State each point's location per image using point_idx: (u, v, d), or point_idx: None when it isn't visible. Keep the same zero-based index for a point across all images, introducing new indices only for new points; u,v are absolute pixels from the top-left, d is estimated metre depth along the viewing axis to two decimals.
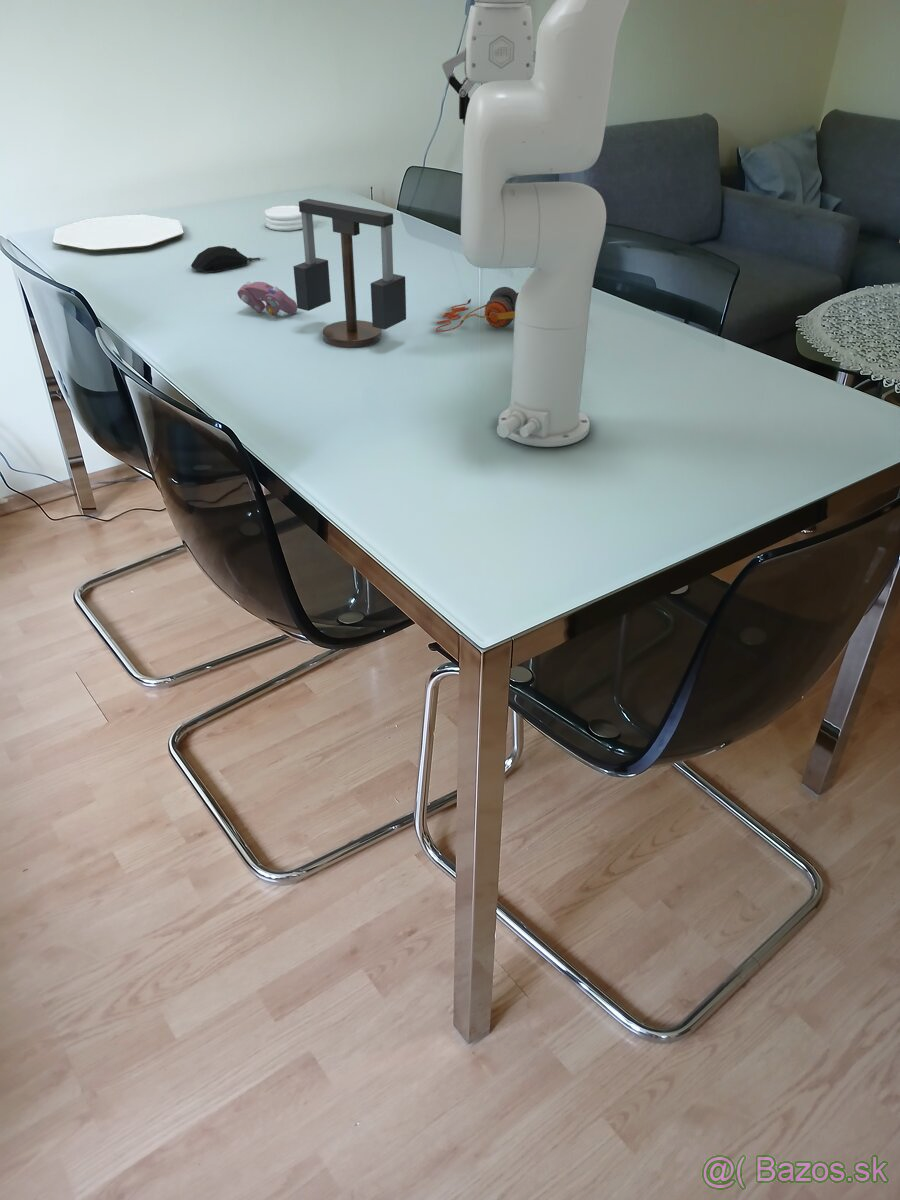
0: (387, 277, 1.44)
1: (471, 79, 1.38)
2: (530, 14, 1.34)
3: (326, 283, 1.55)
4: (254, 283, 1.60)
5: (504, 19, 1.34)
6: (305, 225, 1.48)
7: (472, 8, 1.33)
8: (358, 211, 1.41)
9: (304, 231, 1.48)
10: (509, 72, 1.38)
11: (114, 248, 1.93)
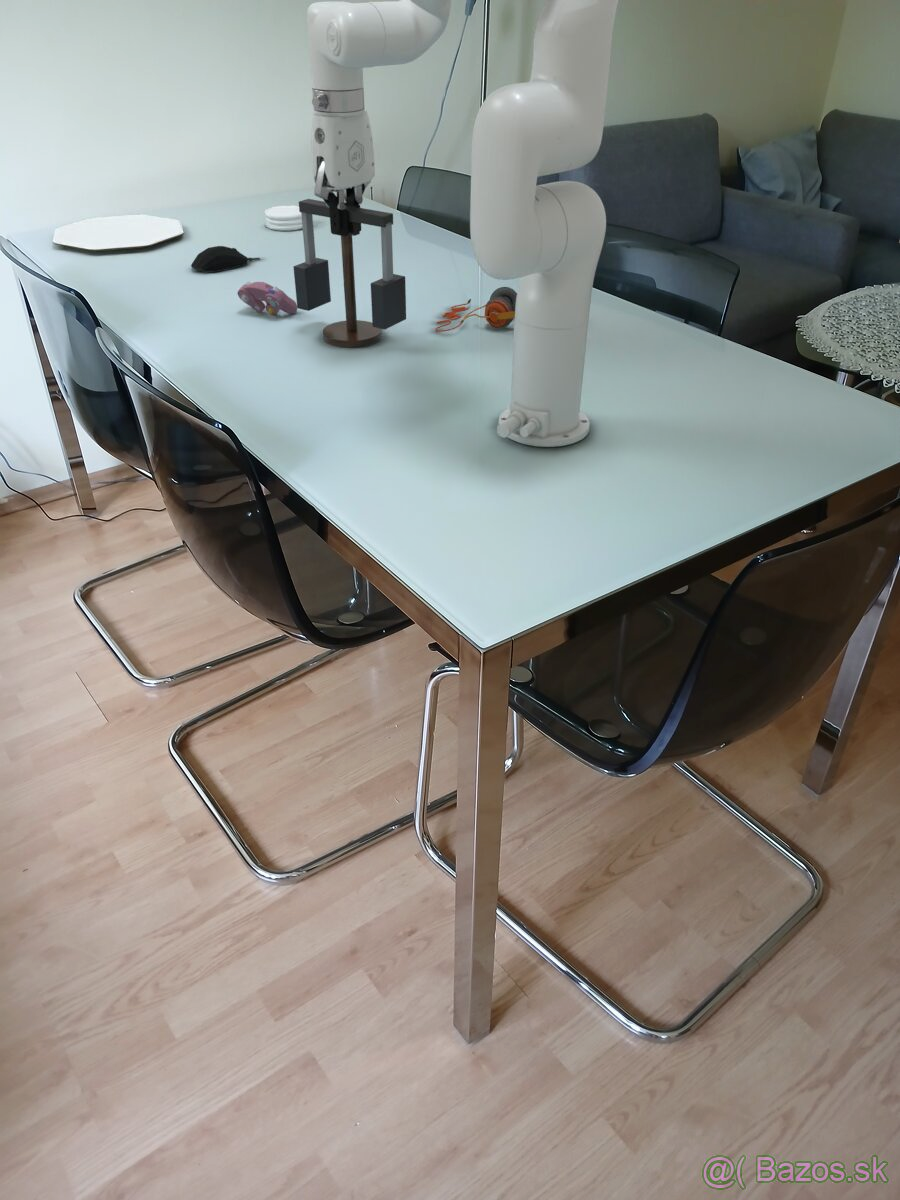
0: (387, 277, 1.44)
1: (338, 187, 1.36)
2: (367, 117, 1.37)
3: (326, 283, 1.55)
4: (254, 283, 1.60)
5: (355, 126, 1.35)
6: (305, 225, 1.48)
7: (328, 119, 1.31)
8: (358, 211, 1.41)
9: (304, 231, 1.48)
10: (363, 174, 1.39)
11: (114, 248, 1.93)
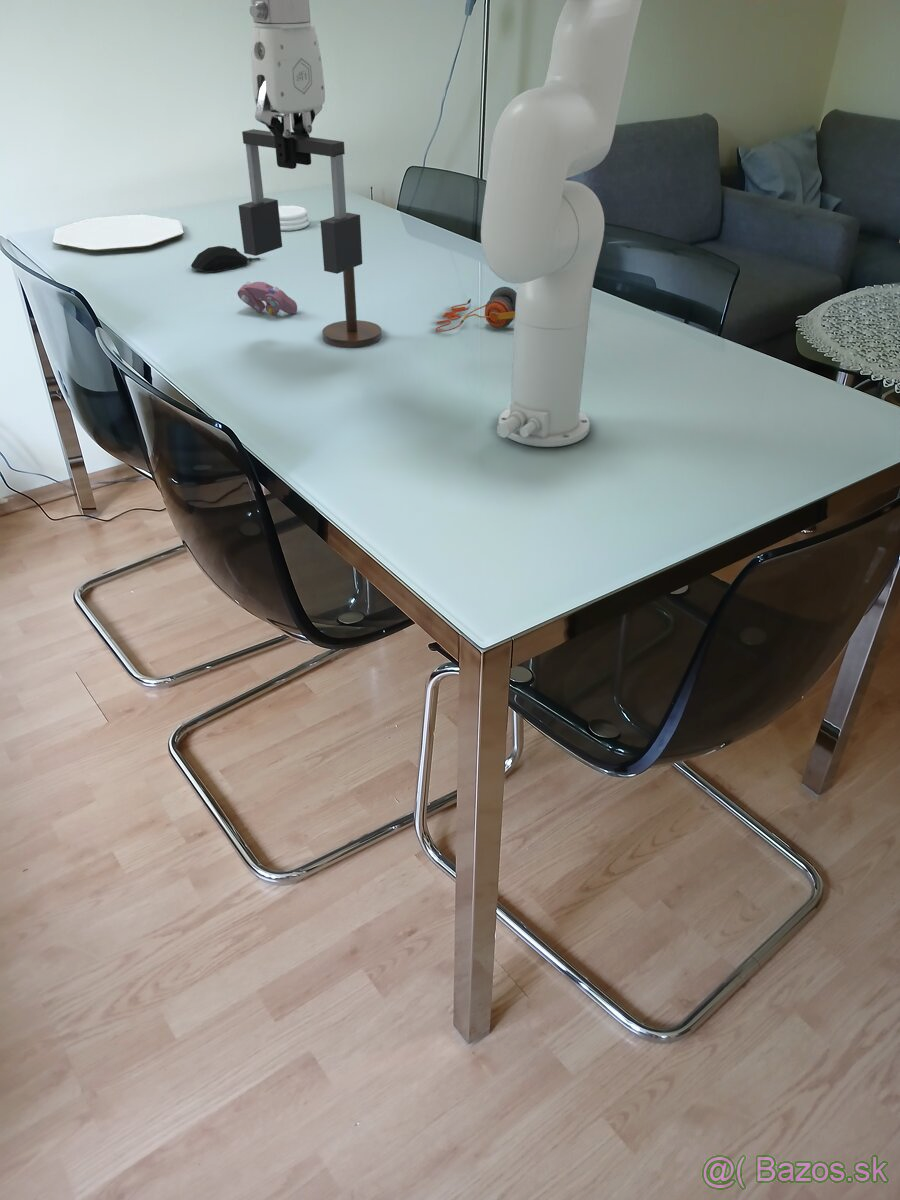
0: (339, 214, 1.30)
1: (281, 110, 1.22)
2: None
3: (276, 226, 1.41)
4: (254, 283, 1.60)
5: (300, 41, 1.21)
6: (250, 158, 1.34)
7: (269, 31, 1.17)
8: (306, 139, 1.27)
9: (249, 166, 1.34)
10: (310, 98, 1.25)
11: (114, 248, 1.93)
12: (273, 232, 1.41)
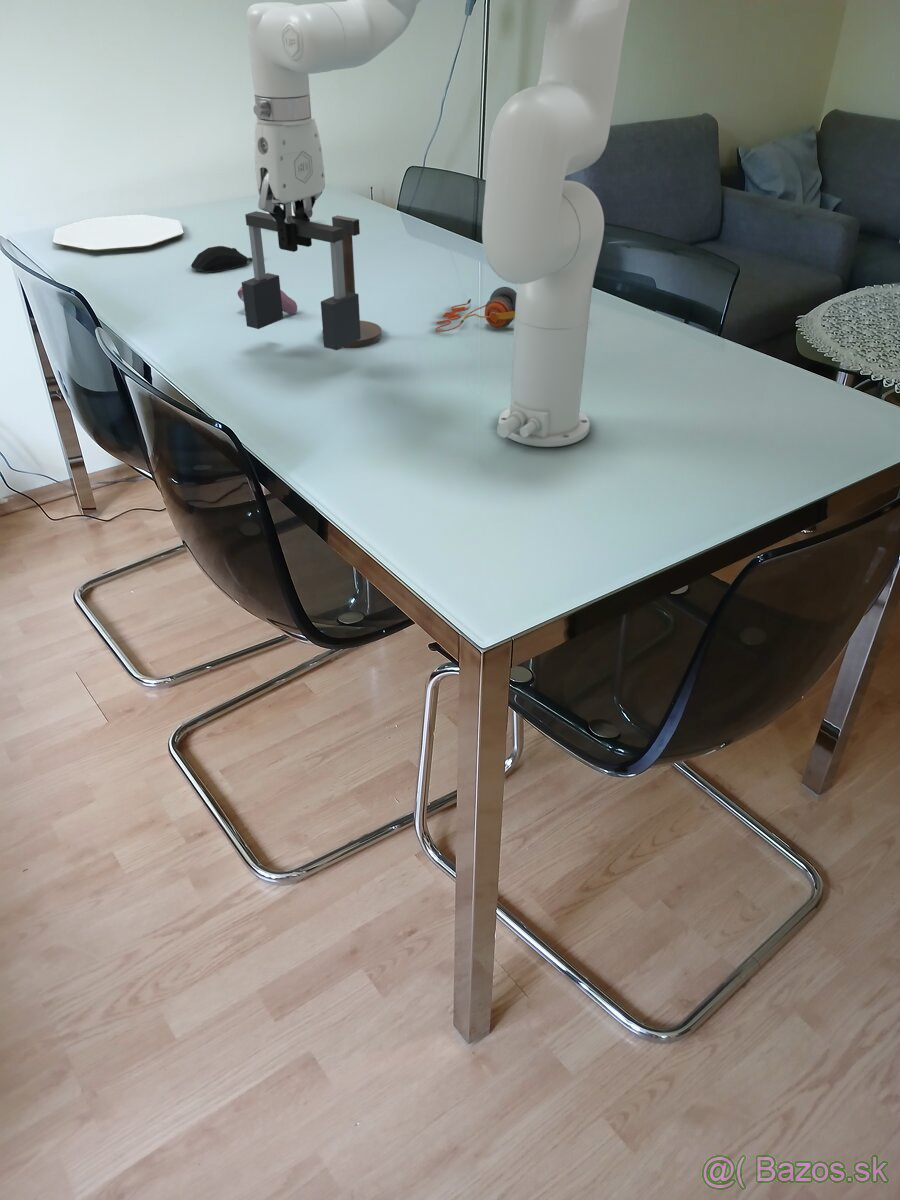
0: (338, 295, 1.36)
1: (283, 200, 1.28)
2: None
3: (277, 300, 1.47)
4: None
5: (302, 135, 1.26)
6: (253, 239, 1.39)
7: (271, 128, 1.23)
8: (306, 225, 1.32)
9: (252, 245, 1.40)
10: (311, 186, 1.31)
11: (114, 248, 1.93)
12: (275, 306, 1.47)
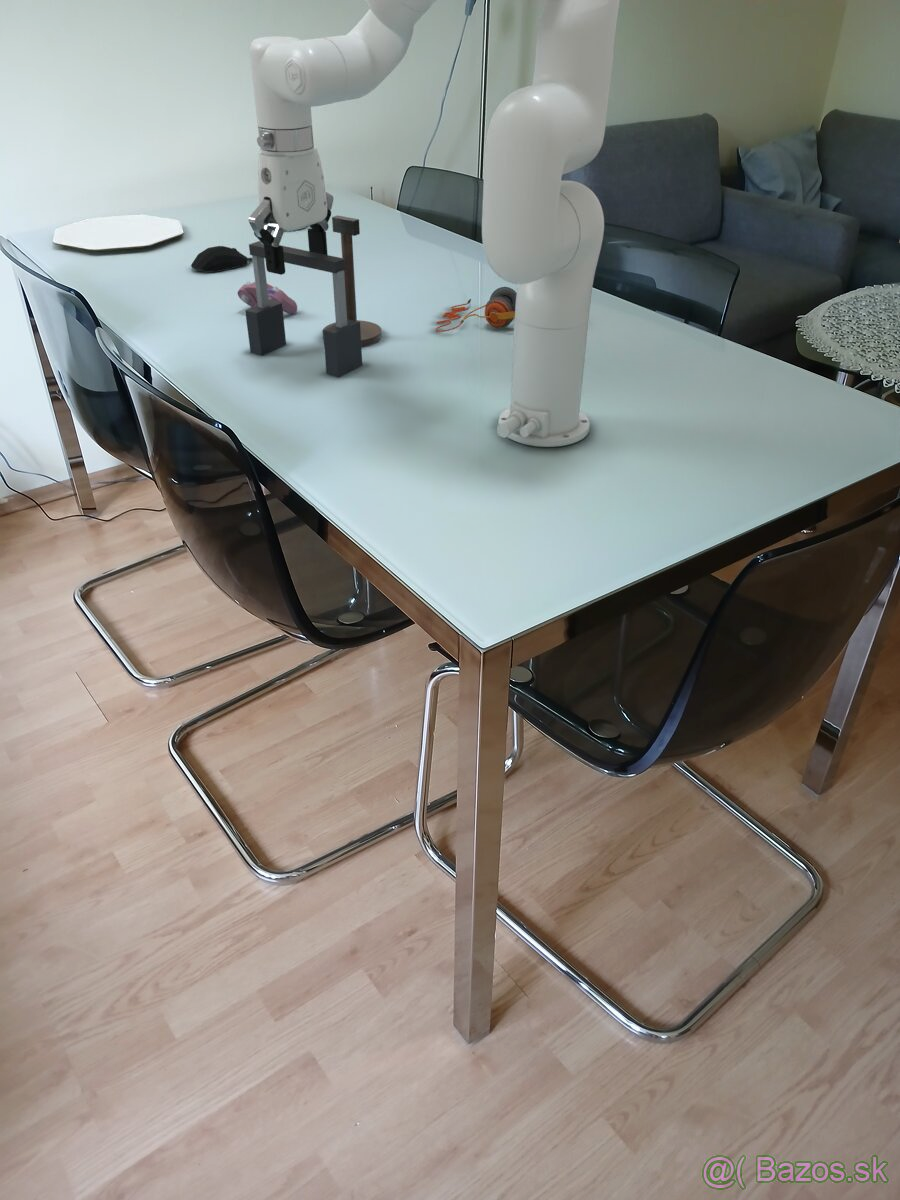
0: (340, 323, 1.38)
1: (286, 228, 1.30)
2: None
3: (280, 326, 1.49)
4: (254, 283, 1.60)
5: (304, 165, 1.29)
6: (256, 268, 1.42)
7: (275, 158, 1.25)
8: (309, 256, 1.35)
9: (255, 274, 1.43)
10: (314, 214, 1.33)
11: (114, 248, 1.93)
12: (278, 332, 1.49)
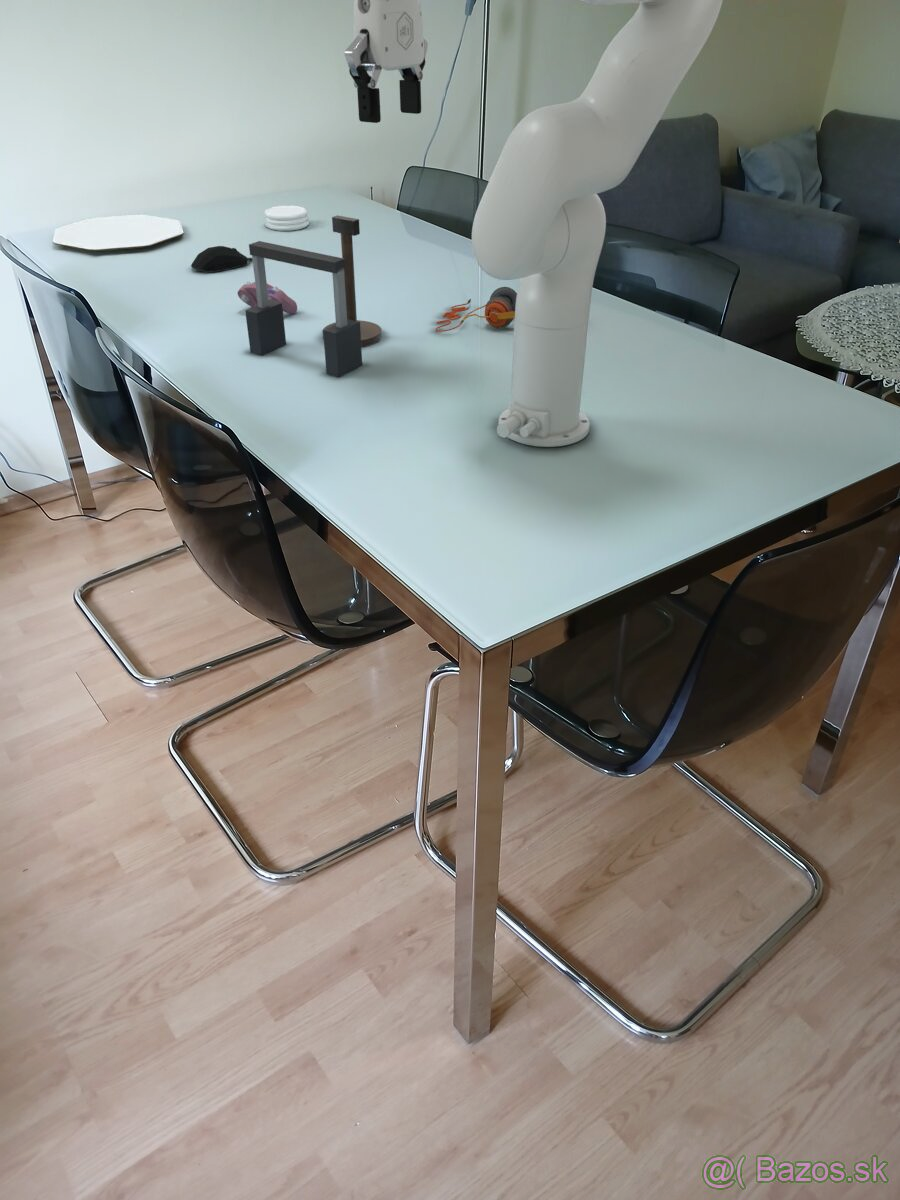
0: (340, 323, 1.38)
1: (385, 66, 1.17)
2: None
3: (280, 326, 1.49)
4: (254, 283, 1.60)
5: None
6: (256, 268, 1.42)
7: None
8: (309, 256, 1.35)
9: (255, 274, 1.43)
10: (411, 55, 1.20)
11: (114, 248, 1.93)
12: (278, 332, 1.49)
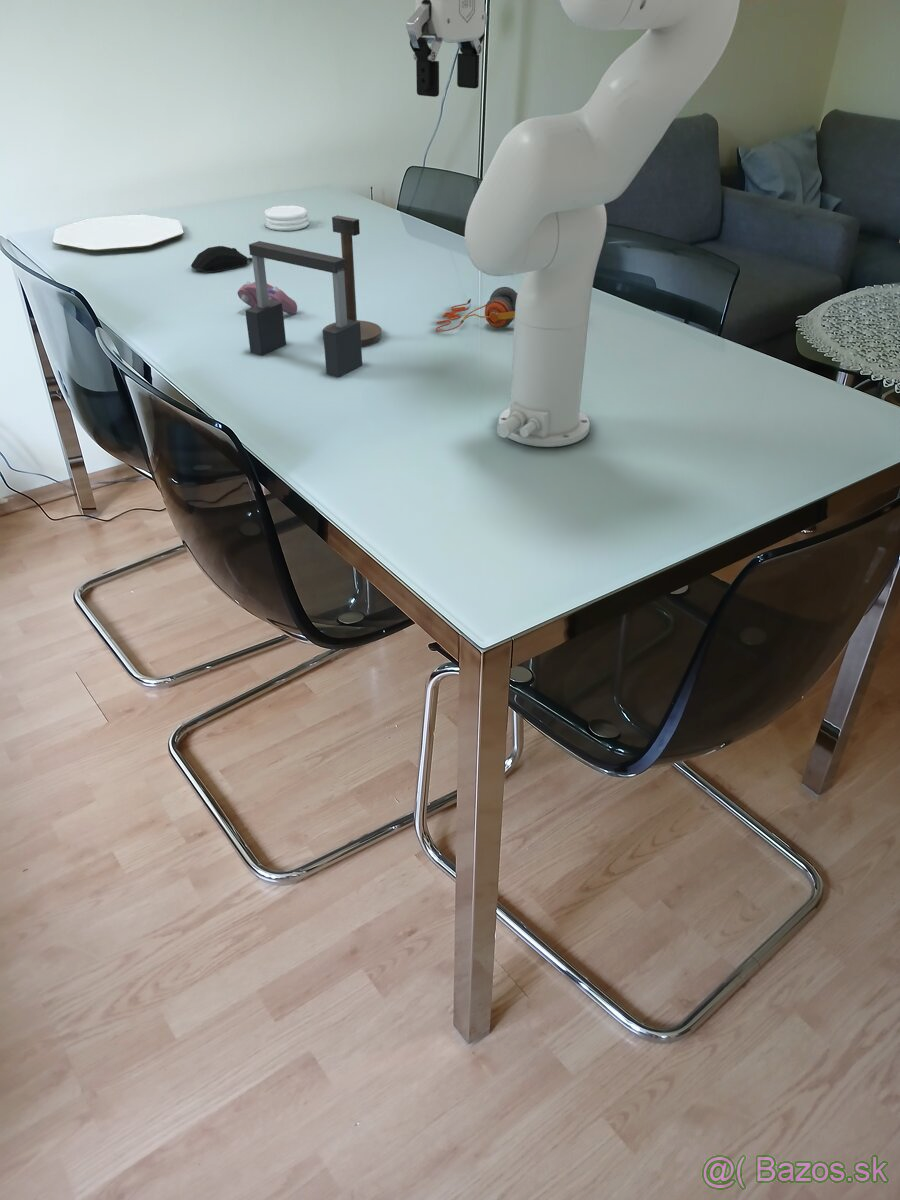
0: (340, 323, 1.38)
1: (446, 38, 1.15)
2: None
3: (280, 326, 1.49)
4: (254, 283, 1.60)
5: None
6: (256, 268, 1.42)
7: None
8: (309, 256, 1.35)
9: (255, 274, 1.43)
10: (472, 27, 1.18)
11: (114, 248, 1.93)
12: (278, 332, 1.49)
